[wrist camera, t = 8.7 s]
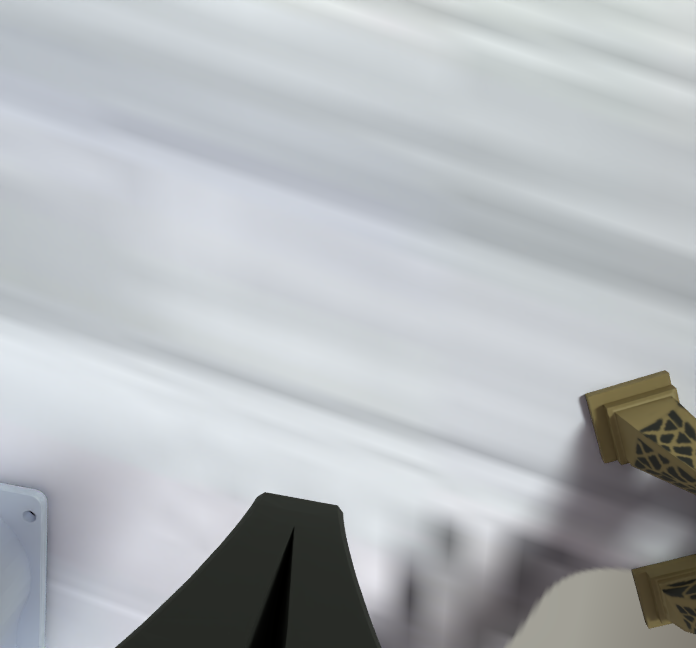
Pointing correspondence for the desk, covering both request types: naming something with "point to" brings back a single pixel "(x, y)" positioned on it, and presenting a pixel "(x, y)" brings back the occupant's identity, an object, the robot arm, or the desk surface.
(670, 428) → the eiffel tower
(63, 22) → the desk surface
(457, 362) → the desk surface
